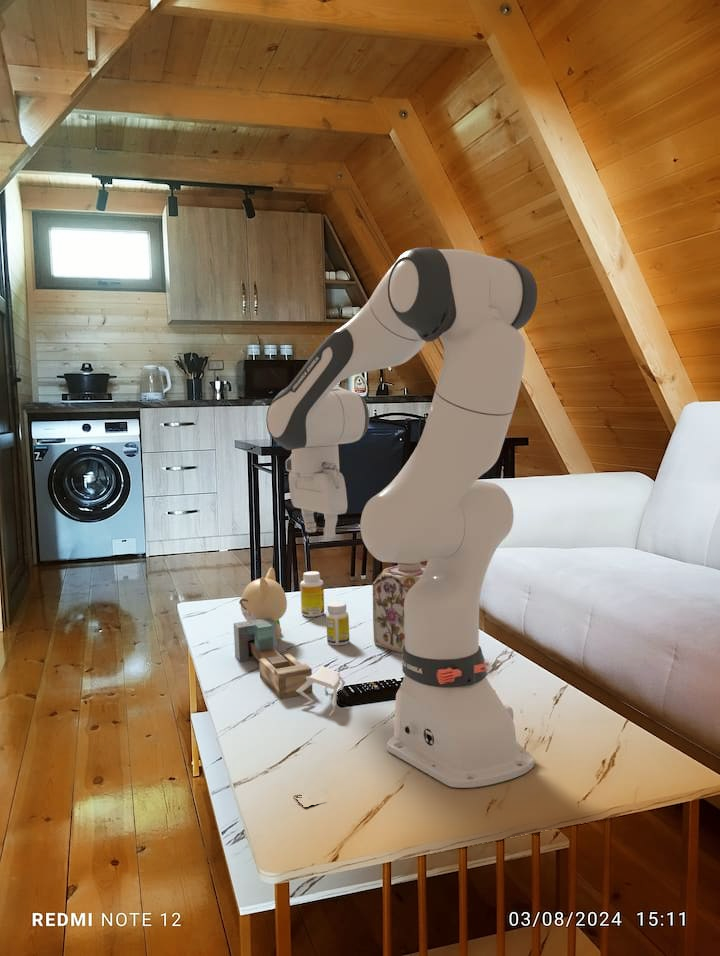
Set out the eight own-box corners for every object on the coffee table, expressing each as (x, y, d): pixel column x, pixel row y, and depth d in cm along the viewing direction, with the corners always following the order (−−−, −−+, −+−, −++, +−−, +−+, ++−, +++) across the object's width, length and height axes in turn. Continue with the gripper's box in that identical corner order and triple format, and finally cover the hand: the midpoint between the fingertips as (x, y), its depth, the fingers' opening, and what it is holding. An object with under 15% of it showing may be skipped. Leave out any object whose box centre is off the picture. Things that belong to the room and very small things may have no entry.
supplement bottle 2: (350, 639, 168) (349, 601, 167) (348, 646, 163) (346, 607, 163) (328, 639, 169) (327, 601, 168) (325, 646, 164) (324, 607, 163)
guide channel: (312, 692, 138) (311, 668, 138) (280, 699, 136) (279, 674, 135) (290, 671, 149) (289, 649, 149) (260, 677, 147) (259, 654, 146)
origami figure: (289, 699, 136) (288, 672, 135) (332, 689, 140) (331, 662, 139) (319, 723, 125) (318, 693, 125) (364, 711, 129) (363, 683, 129)
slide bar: (288, 672, 145) (286, 637, 145) (272, 675, 144) (271, 639, 143) (262, 648, 160) (261, 616, 159) (248, 650, 159) (247, 618, 158)
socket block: (277, 655, 159) (276, 621, 158) (239, 661, 156) (238, 627, 155) (272, 650, 162) (271, 617, 161) (235, 656, 159) (233, 623, 158)
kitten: (251, 629, 178) (248, 564, 176) (294, 629, 177) (291, 564, 175) (234, 650, 163) (231, 580, 161) (281, 650, 162) (278, 580, 160)
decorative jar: (372, 645, 164) (369, 561, 162) (411, 632, 171) (409, 552, 170) (412, 658, 155) (410, 569, 153) (452, 644, 163) (450, 559, 161)
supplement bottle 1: (326, 616, 186) (324, 574, 185) (303, 618, 185) (301, 576, 184) (322, 610, 191) (320, 569, 190) (299, 612, 190) (298, 571, 189)
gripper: (353, 462, 139) (358, 538, 140) (311, 459, 157) (315, 527, 158) (321, 464, 136) (325, 542, 137) (282, 461, 155) (286, 530, 156)
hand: (320, 534), depth 148 cm, fingers open, 8 cm apart
